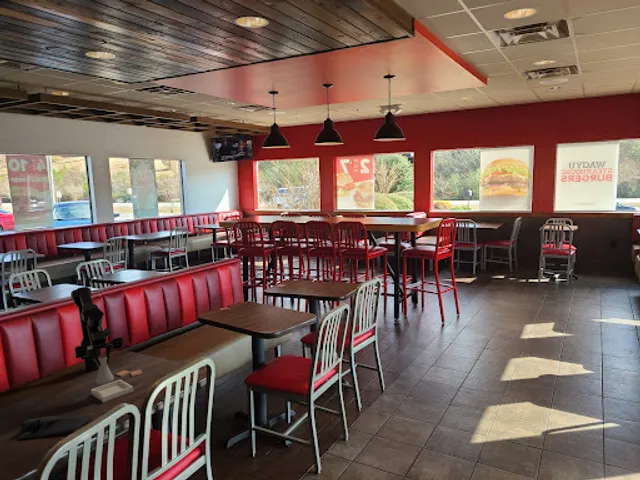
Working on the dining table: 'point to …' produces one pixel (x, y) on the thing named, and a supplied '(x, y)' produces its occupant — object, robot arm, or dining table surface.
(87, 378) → the dining table surface
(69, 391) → the dining table surface
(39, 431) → the black crumpled cloth
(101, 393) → the tray
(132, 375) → the tile
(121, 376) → the tile
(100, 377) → the flask
